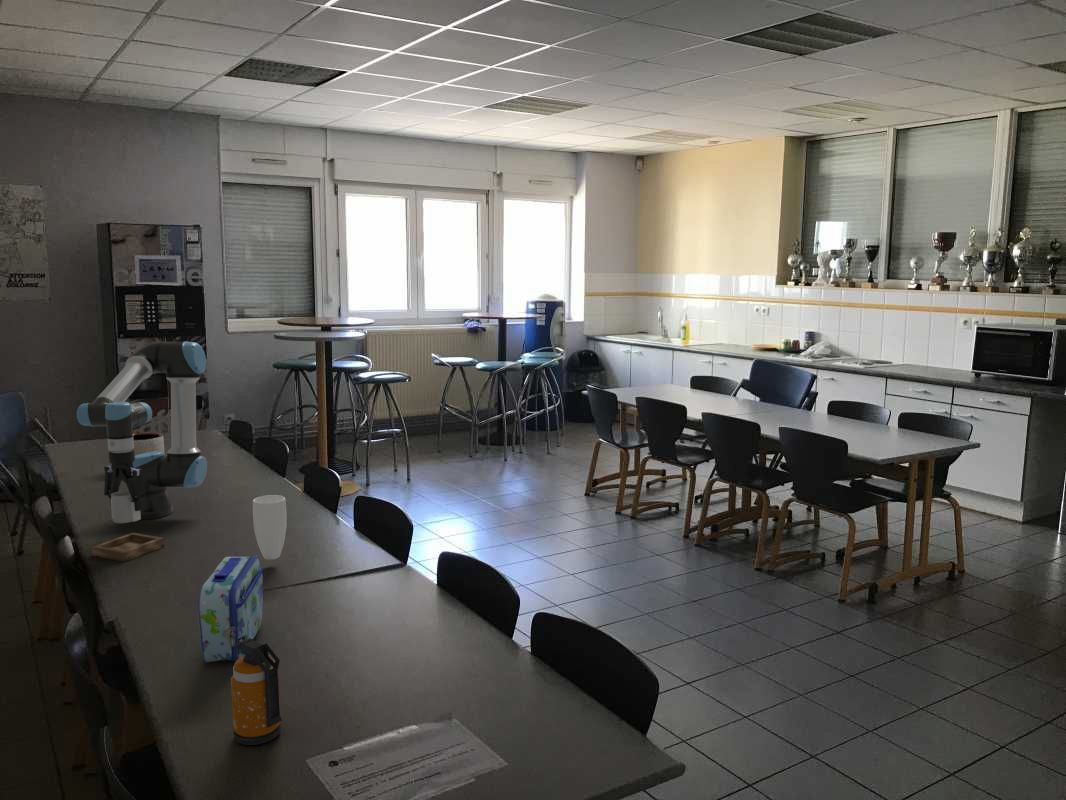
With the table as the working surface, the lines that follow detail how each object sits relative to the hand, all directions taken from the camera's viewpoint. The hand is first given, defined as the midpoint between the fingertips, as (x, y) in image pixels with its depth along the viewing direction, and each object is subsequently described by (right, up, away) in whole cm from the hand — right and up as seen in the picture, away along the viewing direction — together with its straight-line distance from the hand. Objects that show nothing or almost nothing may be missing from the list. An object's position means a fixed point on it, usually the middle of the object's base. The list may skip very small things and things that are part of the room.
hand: (126, 518), depth 276 cm
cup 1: (0, 0, 0) cm, 1 cm away
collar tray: (0, -11, +2) cm, 11 cm away
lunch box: (+59, -22, -66) cm, 91 cm away
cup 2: (+51, -13, -11) cm, 54 cm away
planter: (-44, +6, +110) cm, 119 cm away
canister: (+78, -29, -106) cm, 135 cm away
